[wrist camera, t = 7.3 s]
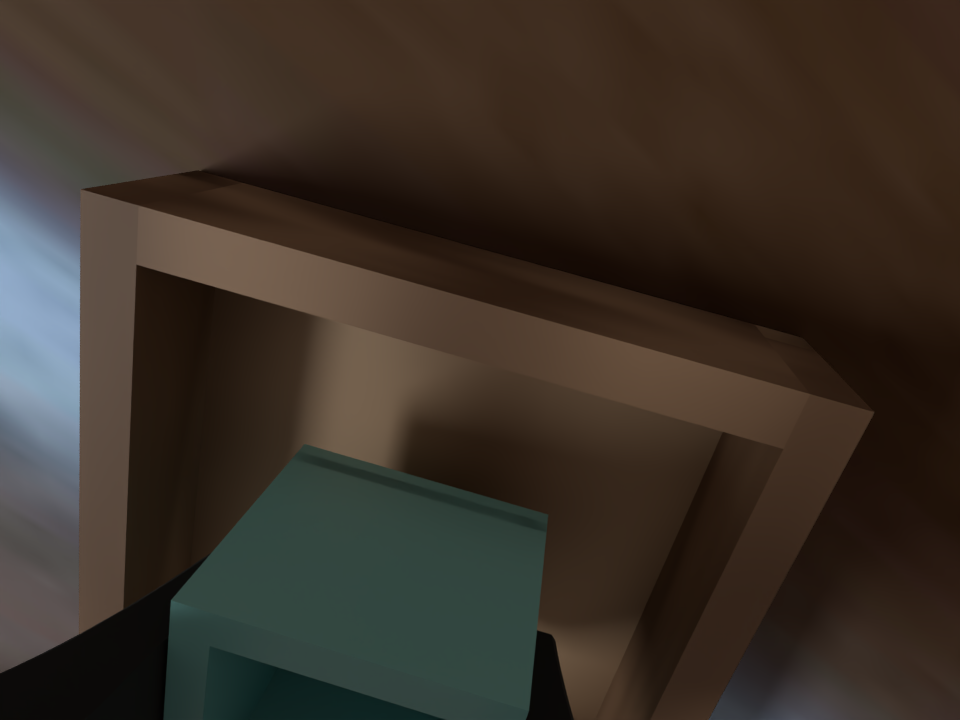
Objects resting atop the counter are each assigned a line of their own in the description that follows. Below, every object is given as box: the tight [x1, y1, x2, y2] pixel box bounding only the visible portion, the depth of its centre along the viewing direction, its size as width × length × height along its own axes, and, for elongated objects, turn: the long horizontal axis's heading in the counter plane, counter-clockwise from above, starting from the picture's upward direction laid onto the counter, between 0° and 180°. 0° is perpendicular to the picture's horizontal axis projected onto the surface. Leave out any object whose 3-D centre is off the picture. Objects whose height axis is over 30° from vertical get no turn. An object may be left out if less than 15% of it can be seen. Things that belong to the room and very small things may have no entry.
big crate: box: [79, 171, 875, 720], centre depth 14 cm, size 13×13×4 cm
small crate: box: [163, 444, 548, 720], centre depth 12 cm, size 5×5×4 cm
